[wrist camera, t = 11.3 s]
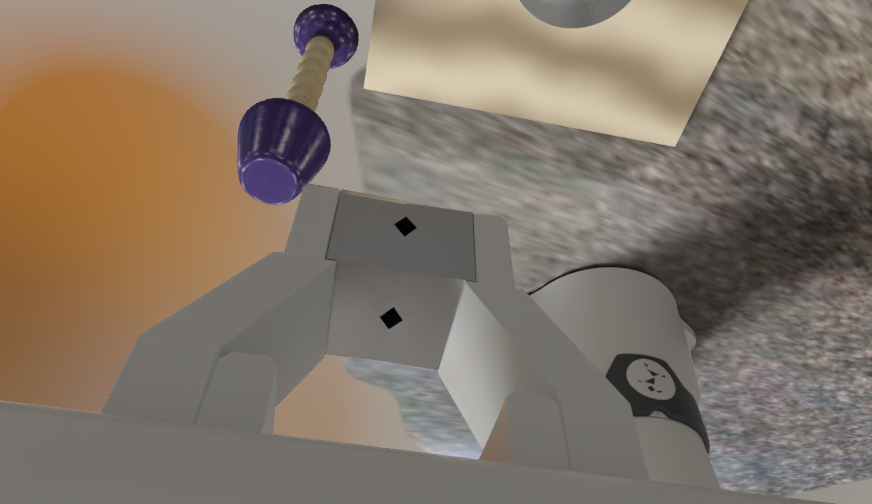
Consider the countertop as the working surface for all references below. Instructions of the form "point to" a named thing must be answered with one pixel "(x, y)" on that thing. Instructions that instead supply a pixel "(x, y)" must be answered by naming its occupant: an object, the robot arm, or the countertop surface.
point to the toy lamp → (295, 112)
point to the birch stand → (555, 61)
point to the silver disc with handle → (574, 11)
